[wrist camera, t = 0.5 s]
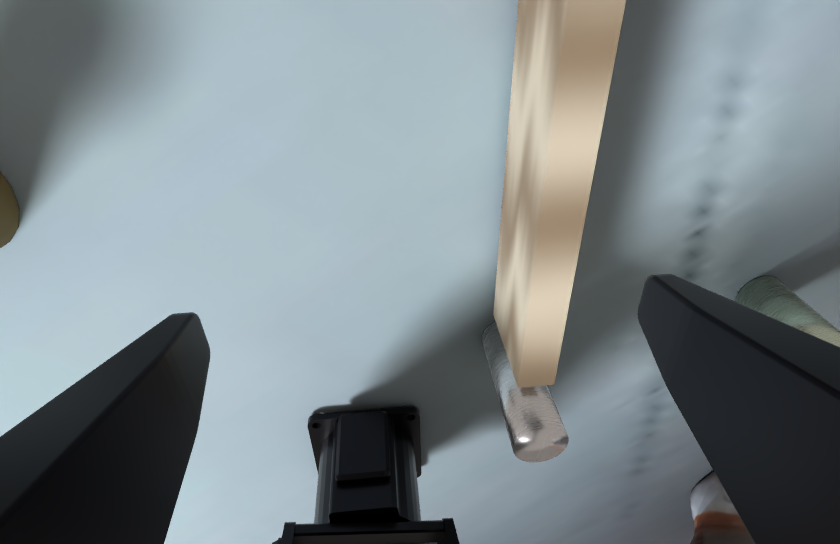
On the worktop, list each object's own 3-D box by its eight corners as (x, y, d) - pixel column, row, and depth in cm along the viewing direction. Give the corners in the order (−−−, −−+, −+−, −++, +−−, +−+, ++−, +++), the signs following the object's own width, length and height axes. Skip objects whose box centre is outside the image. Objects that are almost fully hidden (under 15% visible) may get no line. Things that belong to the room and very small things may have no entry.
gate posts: (773, 307, 28) (881, 405, 22) (483, 356, 28) (514, 467, 22) (785, 271, 26) (903, 366, 21) (480, 323, 27) (512, 432, 21)
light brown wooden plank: (531, 311, 26) (563, 383, 22) (485, 315, 26) (508, 388, 22) (587, -99, 16) (662, -110, 12) (514, -97, 16) (565, -108, 12)
